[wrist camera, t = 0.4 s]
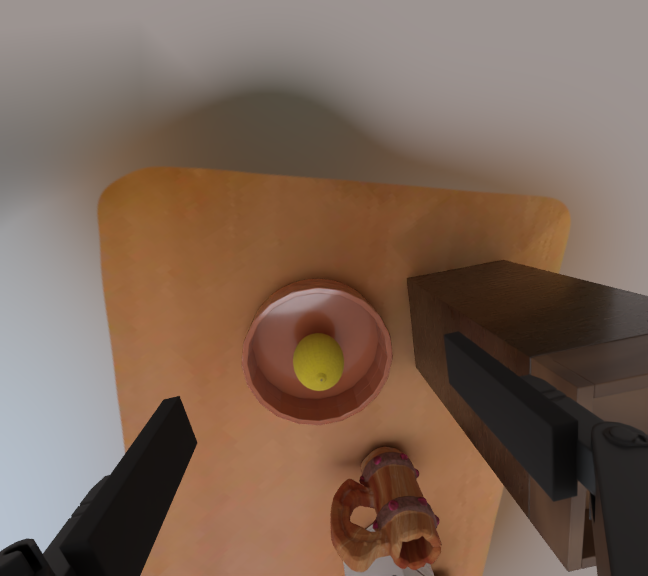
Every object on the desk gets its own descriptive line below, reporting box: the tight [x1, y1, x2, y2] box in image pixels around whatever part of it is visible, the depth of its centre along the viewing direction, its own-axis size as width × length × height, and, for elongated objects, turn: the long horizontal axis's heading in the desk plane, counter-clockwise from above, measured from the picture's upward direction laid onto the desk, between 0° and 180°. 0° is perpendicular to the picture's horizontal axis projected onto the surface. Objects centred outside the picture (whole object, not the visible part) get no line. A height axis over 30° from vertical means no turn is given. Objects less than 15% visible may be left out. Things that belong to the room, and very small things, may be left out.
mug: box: [331, 447, 442, 572], centre depth 36 cm, size 12×7×13 cm, turn 90°
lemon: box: [293, 333, 344, 391], centre depth 33 cm, size 6×6×8 cm
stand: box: [407, 260, 648, 519], centre depth 28 cm, size 12×12×20 cm
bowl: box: [242, 279, 393, 425], centre depth 35 cm, size 16×16×4 cm
